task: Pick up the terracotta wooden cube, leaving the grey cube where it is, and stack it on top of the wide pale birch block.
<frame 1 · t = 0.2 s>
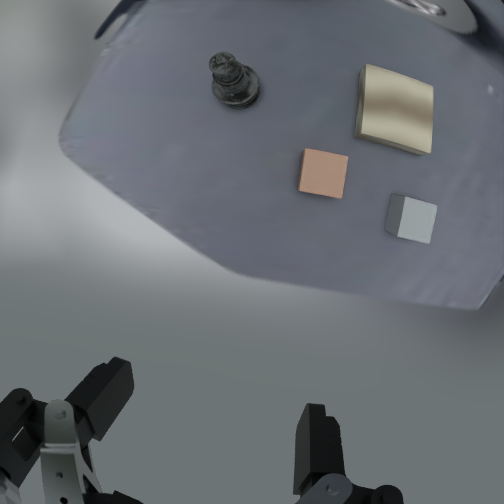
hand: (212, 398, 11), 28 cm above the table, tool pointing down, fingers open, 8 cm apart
grey cube: (403, 215, 34), on the table
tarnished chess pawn: (239, 92, 33), on the table
terracotta cube: (319, 174, 34), on the table
birch block: (390, 113, 31), on the table
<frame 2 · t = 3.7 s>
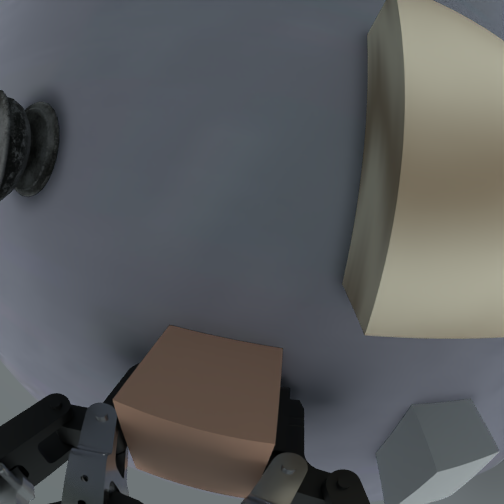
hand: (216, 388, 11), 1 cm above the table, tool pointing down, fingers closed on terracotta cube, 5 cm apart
grey cube: (424, 428, 12), on the table
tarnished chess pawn: (33, 148, 10), on the table
terracotta cube: (220, 379, 12), on the table, touching gripper
birch block: (465, 180, 8), on the table
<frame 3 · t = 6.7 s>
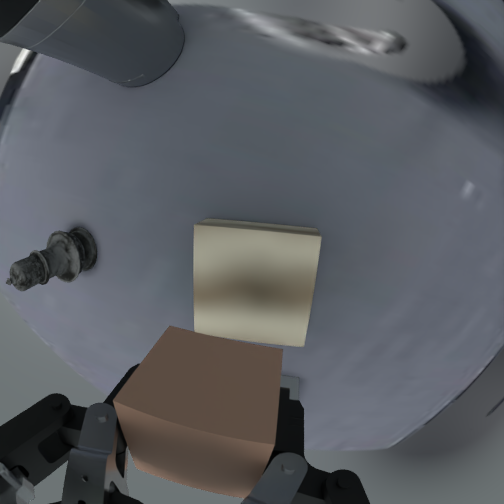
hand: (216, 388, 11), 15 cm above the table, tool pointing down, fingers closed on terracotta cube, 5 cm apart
grey cube: (273, 389, 29), on the table
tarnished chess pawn: (82, 248, 28), on the table
terracotta cube: (219, 379, 12), point 15 cm above the table, touching gripper
birch block: (257, 274, 26), on the table
when the fingers open (5 cm above the table, at t = 9.9 s): terracotta cube stays where it is, resting on birch block.
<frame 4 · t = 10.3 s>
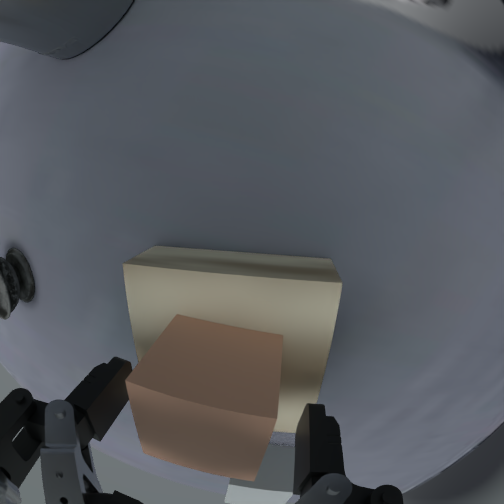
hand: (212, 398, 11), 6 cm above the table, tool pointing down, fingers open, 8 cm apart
grey cube: (263, 456, 20), on the table
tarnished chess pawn: (20, 274, 19), on the table
terracotta cube: (223, 366, 13), point 4 cm above the table, touching birch block
birch block: (237, 327, 17), on the table, touching terracotta cube
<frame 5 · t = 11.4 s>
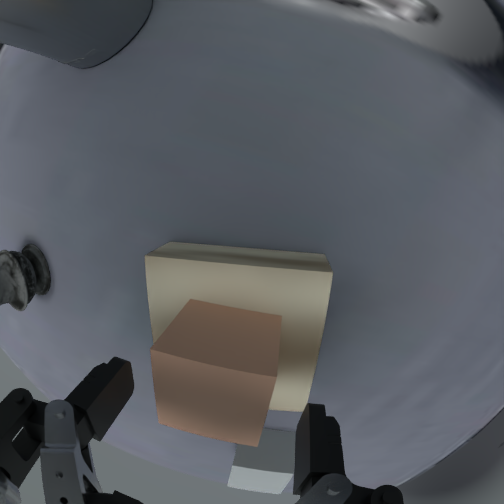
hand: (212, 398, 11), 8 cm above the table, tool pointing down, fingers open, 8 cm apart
grey cube: (264, 441, 22), on the table
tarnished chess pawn: (36, 269, 21), on the table
terracotta cube: (230, 345, 15), point 3 cm above the table, touching birch block
birch block: (242, 315, 19), on the table, touching terracotta cube
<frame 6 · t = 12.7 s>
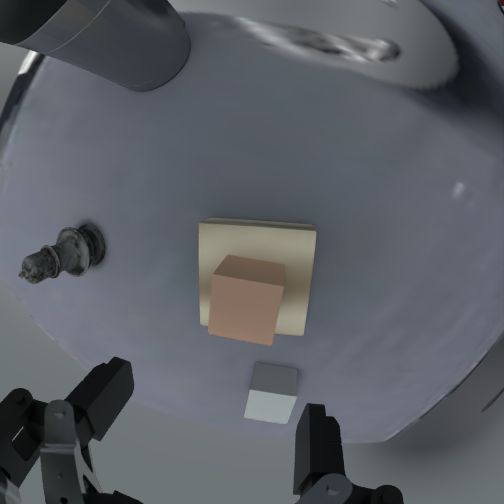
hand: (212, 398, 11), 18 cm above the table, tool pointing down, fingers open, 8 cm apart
grey cube: (272, 379, 31), on the table
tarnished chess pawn: (90, 244, 30), on the table
terracotta cube: (252, 286, 24), point 4 cm above the table, touching birch block
birch block: (258, 268, 28), on the table, touching terracotta cube
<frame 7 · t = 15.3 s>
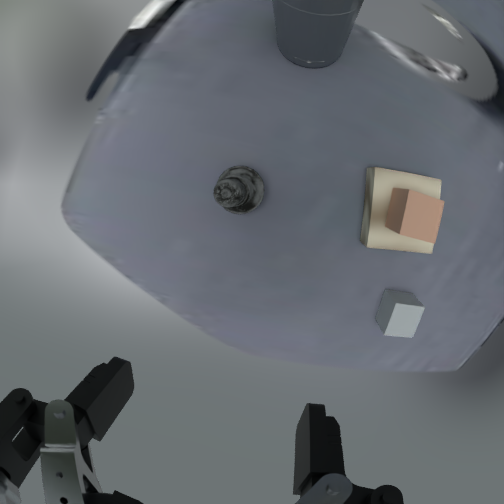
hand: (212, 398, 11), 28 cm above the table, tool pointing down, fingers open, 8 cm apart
grey cube: (393, 305, 37), on the table
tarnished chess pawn: (244, 188, 36), on the table
terracotta cube: (405, 211, 30), point 4 cm above the table
birch block: (395, 208, 34), on the table
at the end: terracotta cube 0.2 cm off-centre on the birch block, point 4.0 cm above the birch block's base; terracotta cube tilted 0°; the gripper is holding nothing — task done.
